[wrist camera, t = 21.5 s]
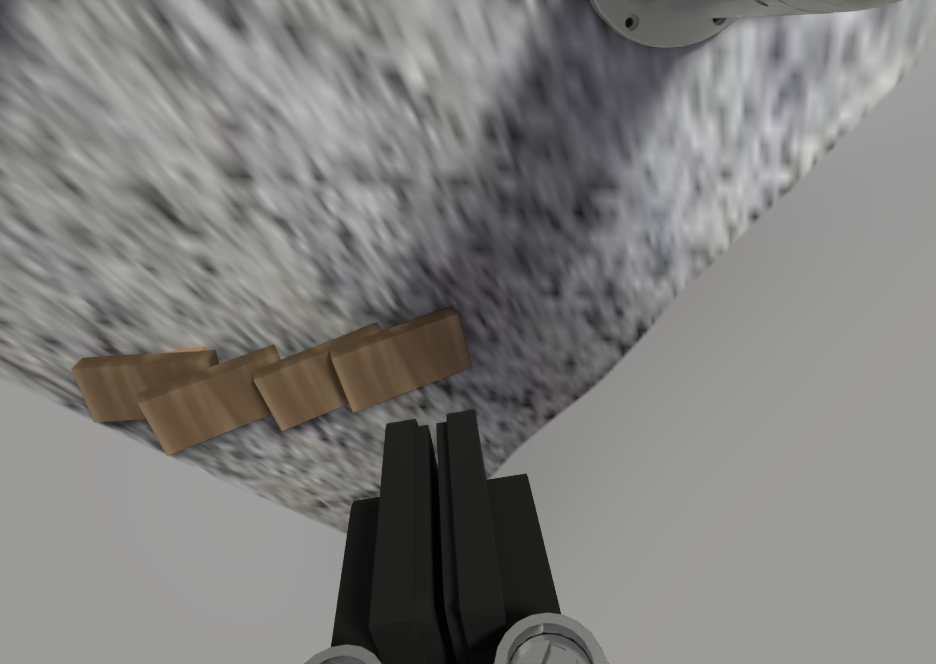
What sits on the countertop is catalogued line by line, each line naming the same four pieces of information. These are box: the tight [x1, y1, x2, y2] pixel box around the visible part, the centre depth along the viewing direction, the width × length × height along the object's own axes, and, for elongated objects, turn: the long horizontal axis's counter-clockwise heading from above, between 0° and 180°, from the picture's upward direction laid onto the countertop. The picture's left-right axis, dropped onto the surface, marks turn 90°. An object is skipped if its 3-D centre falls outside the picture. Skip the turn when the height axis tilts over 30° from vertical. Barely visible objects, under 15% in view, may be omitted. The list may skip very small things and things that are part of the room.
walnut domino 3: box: [254, 323, 381, 431], centre depth 43 cm, size 2×5×10 cm
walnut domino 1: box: [72, 350, 219, 422], centre depth 43 cm, size 2×5×10 cm
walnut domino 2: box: [138, 345, 280, 456], centre depth 43 cm, size 2×5×10 cm
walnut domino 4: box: [329, 306, 472, 412], centre depth 43 cm, size 2×5×10 cm
